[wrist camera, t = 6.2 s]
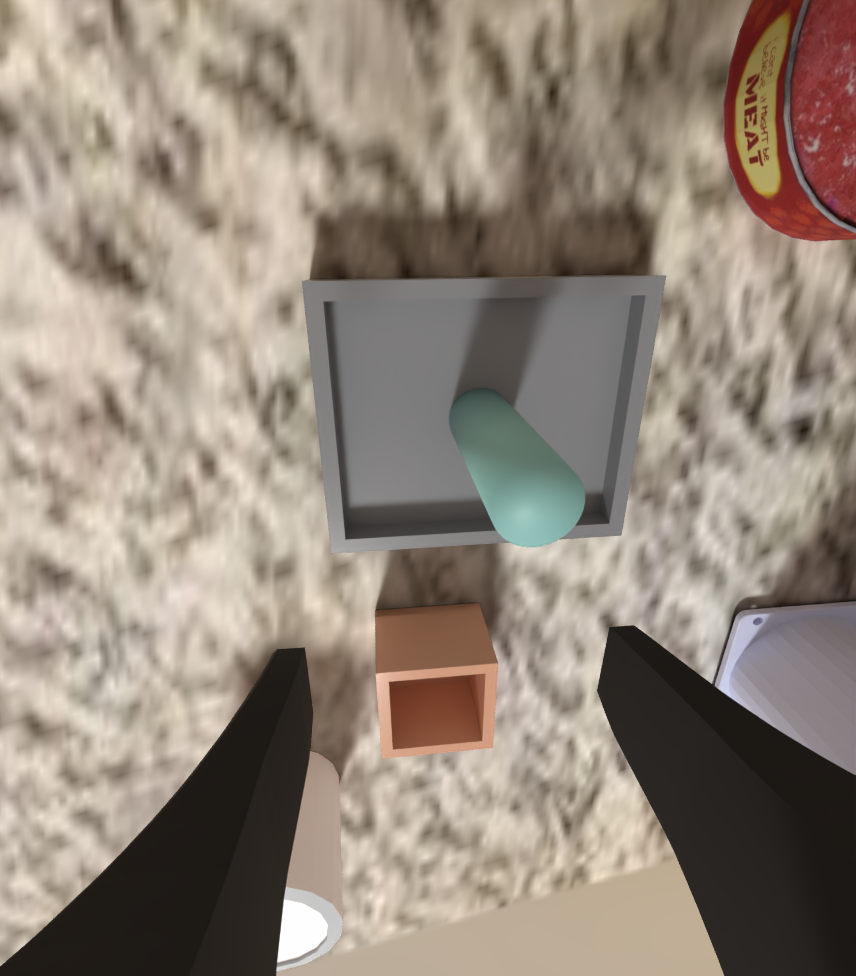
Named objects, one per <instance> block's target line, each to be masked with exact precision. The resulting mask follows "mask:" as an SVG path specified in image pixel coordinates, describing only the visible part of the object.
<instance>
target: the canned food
mask: <svg viewBox="0 0 856 976" xmlns="http://www.w3.org/2000/svg"><path fill="white" fill-rule="evenodd" d="M724 142H725V147H726V152H727V158H728V163H729V168H730V171H731V173H732V176H733V178H734V181H735V183H736V185H737V188H738V190H739V193H740V195H741V196H742V197H743V199H744V200H745V202H746V203H747V204H748V206H749V207H750V209H751V210H752V212H753V213H754V214H755V215H756V216H757V217H759V218H760V219H761V220H762V221H763V222H765V223H766V224H767V225H768V226H769V227H771V228H772V229H774V230H776V231H778V232H781V233H783V234H785V235H787V236H789V237H792V238H797V239H803V240H809V241H827V240H847V239H856V0H753V2H752V4H751V7H750V9H749V11H748V13H747V16H746V18H745V20H744V22H743V25H742V27H741V29H740V31H739V35H738V38H737V42H736V45H735V49H734V52H733V56H732V59H731V62H730V66H729V70H728V77H727V84H726V91H725V98H724Z"/></svg>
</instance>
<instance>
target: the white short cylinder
mask: <svg viewBox="0 0 856 976" xmlns="http://www.w3.org/2000/svg"><path fill="white" fill-rule="evenodd" d="M342 924H343V901H342V867H341V832H340V797H339V775H338V773H337V771H336V769H335V767H334V765H333V763H331V762H330V761H329V760H327V759H326V758H324V757H323V756H322V755H320V754H319V753H315V752H312V751H310V757H309V764H308V769H307V775H306V780H305V785H304V791H303V796H302V801H301V807H300V812H299V817H298V822H297V828H296V833H295V838H294V843H293V849H292V854H291V859H290V864H289V870H288V876H287V883H286V889H285V896H284V904H283V913H282V923H281V932H280V941H279V951H278V960H277V970H276V971H280V970H284V969H287V968H291V967H295V966H299V965H303V964H306V963H308V962H310V961H312V960H313V959H315V958H317V957H319V956H321V955H323V954H325V953H326V952H328V951H329V950H330V948H331V947H332V946H333V945H334V944H335V943H336V942H337V940H338V939H339V938H340V937H341V931H342Z"/></svg>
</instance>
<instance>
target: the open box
mask: <svg viewBox="0 0 856 976" xmlns="http://www.w3.org/2000/svg"><path fill="white" fill-rule="evenodd" d="M375 637H376V684H377V698H378V712H379V725H380V739H381V752H382V759H383V758H393V757H403V756H414V755H424V754H434V753H444V752H454V751H464V750H474V749H484V748H493V737H494V721H495V705H496V689H497V672H498V661H497V658H496V655H495V652H494V649H493V645H492V642H491V639H490V636H489V633H488V629H487V626H486V623H485V620H484V617H483V613H482V610H481V607H480V604H479V603H468V604H454V605H441V606H427V607H413V608H400V609H386V610H375Z"/></svg>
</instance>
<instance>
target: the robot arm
mask: <svg viewBox="0 0 856 976" xmlns="http://www.w3.org/2000/svg"><path fill="white" fill-rule="evenodd" d="M597 692H598V694H599V697H600V700H601V703H602V705H603V708H604V711H605V714H606V716H607V719H608V721H609V724H610V726H611V729H612V731H613V734H614V736H615V738H616V740H617V742H618V744H619V745H620V747H621V749H622V751H623V753H624V755H625V757H626V759H627V761H628V763H629V765H630V767H631V769H632V771H633V772H634V774H635V776H636V778H637V780H638V782H639V784H640V786H641V788H642V790H643V791H644V793H645V795H646V797H647V799H648V801H649V803H650V805H651V807H652V809H653V810H654V812H655V814H656V816H657V818H658V820H659V822H660V824H661V826H662V828H663V829H664V831H665V834H666V836H667V838H668V840H669V842H670V844H671V846H672V848H673V850H674V852H675V855H676V857H677V859H678V862H679V864H680V866H681V869H682V871H683V873H684V876H685V878H686V880H687V883H688V885H689V888H690V890H691V892H692V895H693V897H694V900H695V902H696V904H697V907H698V909H699V912H700V914H701V917H702V920H703V922H704V925H705V927H706V930H707V932H708V935H709V937H710V940H711V942H712V945H713V947H714V950H715V952H716V955H717V957H718V960H719V963H720V965H721V968H722V970H723V973H724V976H856V601H853V602H841V603H828V604H815V605H802V606H789V607H777V608H764V609H751V610H744V611H741V612H739V613H738V614H737V616H736V618H735V621H734V624H733V627H732V630H731V634H730V637H729V640H728V643H727V647H726V650H725V653H724V656H723V660H722V663H721V666H720V669H719V673H718V676H717V679H716V682H715V686H714V685H712V684H711V683H710V682H708V681H707V680H706V679H704V678H703V677H702V676H700V675H699V674H698V673H696V672H695V671H694V670H692V669H691V668H690V667H688V666H687V665H686V664H684V663H683V662H682V661H680V660H679V659H678V658H676V657H675V656H674V655H673V654H671V653H670V652H669V651H667V650H666V649H665V648H663V647H662V646H661V645H660V644H658V643H657V642H656V641H654V640H653V639H652V638H650V637H649V636H648V635H646V634H645V633H644V632H642V631H641V630H639V629H638V628H637V627H635V626H619V627H609V632H608V637H607V643H606V648H605V653H604V658H603V663H602V668H601V673H600V678H599V683H598V689H597ZM312 722H313V708H312V700H311V692H310V684H309V676H308V669H307V661H306V653H305V648H290V649H277V650H276V651H275V652H274V653H273V655H272V656H271V658H270V660H269V662H268V663H267V665H266V667H265V669H264V670H263V672H262V674H261V675H260V677H259V679H258V680H257V682H256V683H255V685H254V687H253V688H252V690H251V691H250V693H249V694H248V696H247V698H246V699H245V701H244V702H243V704H242V705H241V707H240V708H239V710H238V711H237V712H236V714H235V715H234V717H233V718H232V720H231V721H230V723H229V724H228V726H227V727H226V729H225V730H224V731H223V733H222V734H221V736H220V737H219V738H218V740H217V741H216V742H215V744H214V745H213V746H212V748H211V749H210V750H209V751H208V753H207V754H206V755H205V757H204V758H203V759H202V761H201V762H200V763H199V765H198V766H197V767H196V769H195V770H194V771H193V772H192V774H191V775H190V776H189V777H188V779H187V780H186V781H185V782H184V784H183V785H182V786H181V787H180V788H179V790H178V791H177V792H176V793H175V794H174V796H173V797H172V798H171V799H170V800H169V801H168V802H167V804H166V805H165V806H164V807H163V808H162V809H161V811H160V812H159V813H158V814H157V815H156V816H155V817H154V818H153V820H152V821H151V822H150V823H149V824H148V825H147V826H146V827H145V828H144V829H143V830H142V831H141V833H140V834H139V835H138V836H137V837H136V838H135V839H134V840H133V841H132V842H131V843H130V844H129V845H128V846H127V848H126V849H125V850H124V851H123V852H122V853H121V854H120V855H119V856H118V857H117V858H116V859H115V860H114V861H113V862H112V863H111V864H110V865H109V866H108V867H107V868H106V869H105V870H104V871H103V872H102V873H101V874H100V875H99V876H98V877H97V878H96V879H95V880H94V881H93V882H92V883H91V884H90V885H89V886H88V887H87V888H86V889H84V890H83V891H82V892H81V893H80V894H79V895H78V896H77V897H76V898H75V899H74V900H73V901H72V902H71V903H70V904H69V905H68V906H67V907H66V908H64V909H63V910H62V911H61V912H60V913H59V914H58V915H57V916H56V917H55V918H54V919H53V920H52V921H51V922H50V923H49V924H48V925H47V926H46V927H44V928H43V929H42V930H41V931H40V932H39V933H38V934H37V935H36V936H35V937H33V938H32V939H31V940H30V941H29V942H28V943H27V944H26V945H25V946H23V947H22V948H21V949H20V950H19V951H18V952H16V953H15V954H14V955H13V956H12V957H11V958H9V959H8V960H7V961H6V962H5V963H4V964H2V965H1V966H0V976H276V970H277V960H278V951H279V941H280V932H281V923H282V913H283V904H284V896H285V889H286V883H287V876H288V870H289V864H290V859H291V854H292V849H293V843H294V838H295V833H296V828H297V822H298V817H299V812H300V807H301V801H302V796H303V791H304V785H305V780H306V775H307V769H308V764H309V757H310V746H311V734H312Z"/></svg>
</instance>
